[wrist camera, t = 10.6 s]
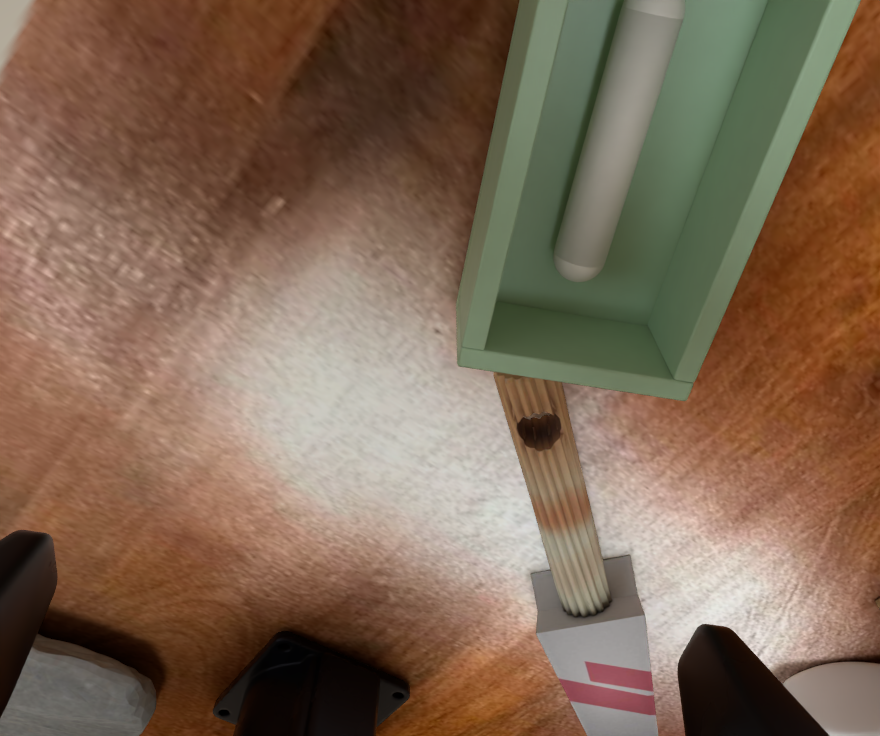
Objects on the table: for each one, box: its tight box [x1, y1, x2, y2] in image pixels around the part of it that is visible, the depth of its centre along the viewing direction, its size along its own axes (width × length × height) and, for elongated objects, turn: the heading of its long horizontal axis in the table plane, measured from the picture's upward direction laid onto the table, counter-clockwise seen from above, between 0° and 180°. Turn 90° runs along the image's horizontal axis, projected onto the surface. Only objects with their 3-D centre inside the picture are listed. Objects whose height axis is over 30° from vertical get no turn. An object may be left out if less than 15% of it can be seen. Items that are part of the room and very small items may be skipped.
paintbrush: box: [494, 372, 658, 736], centre depth 26 cm, size 4×3×20 cm
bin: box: [456, 0, 861, 401], centre depth 17 cm, size 11×6×4 cm, turn 170°
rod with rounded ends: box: [553, 0, 685, 282], centre depth 18 cm, size 7×1×1 cm, turn 170°
